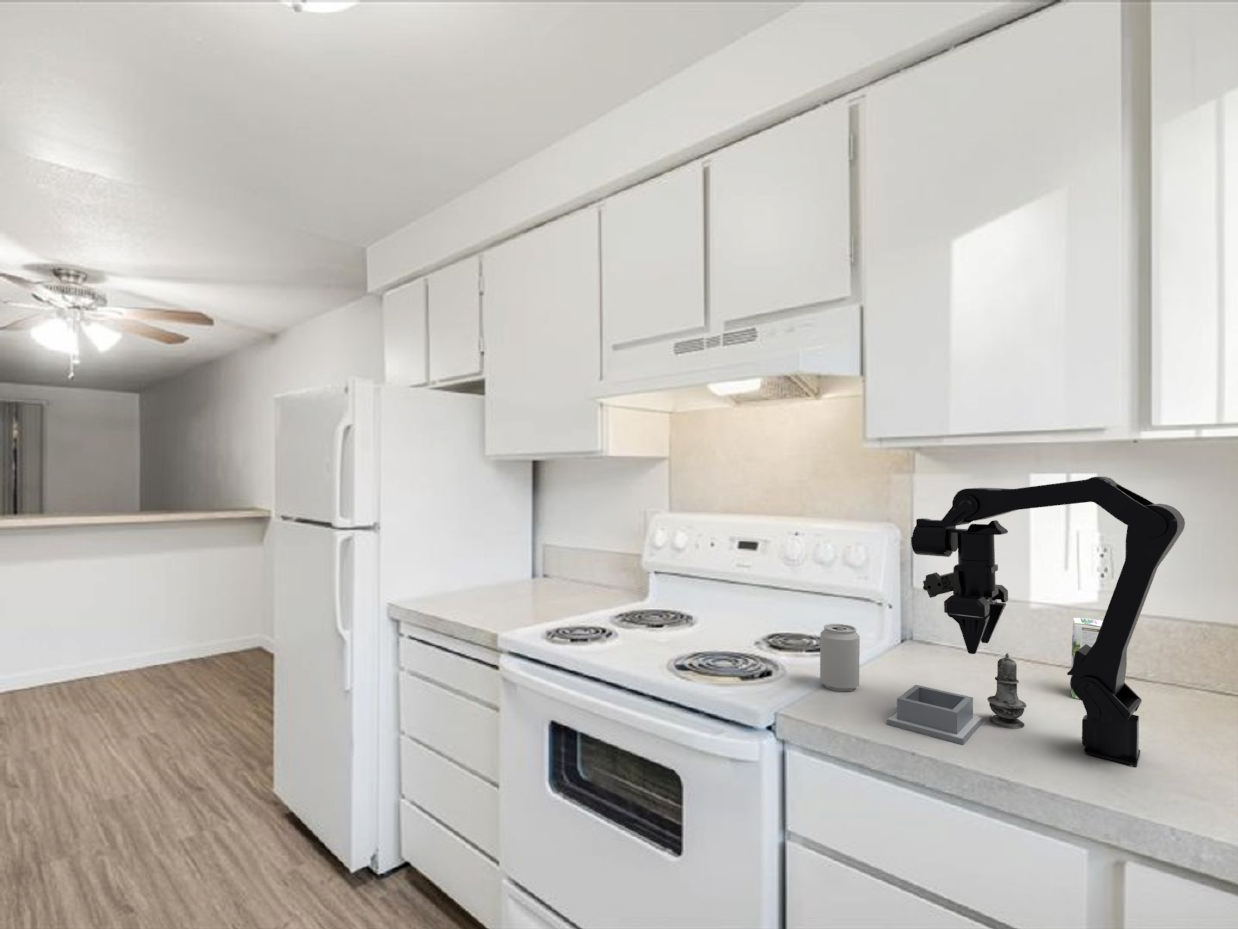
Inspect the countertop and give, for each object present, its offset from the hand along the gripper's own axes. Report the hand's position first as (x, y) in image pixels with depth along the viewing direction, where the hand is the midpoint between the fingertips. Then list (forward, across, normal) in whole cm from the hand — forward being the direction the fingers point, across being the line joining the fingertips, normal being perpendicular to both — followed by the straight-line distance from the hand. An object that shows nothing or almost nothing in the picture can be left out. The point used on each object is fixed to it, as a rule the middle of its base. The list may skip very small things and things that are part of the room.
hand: (978, 648), depth 117 cm
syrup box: (+13, -26, +13) cm, 32 cm away
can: (+12, 0, -25) cm, 28 cm away
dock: (+12, +8, -5) cm, 15 cm away
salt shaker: (+13, -1, +4) cm, 13 cm away
